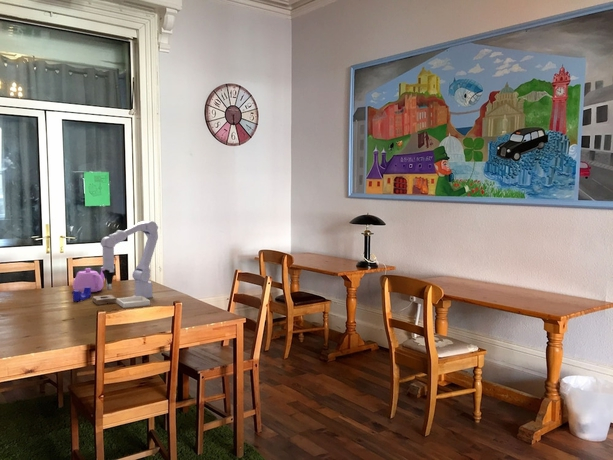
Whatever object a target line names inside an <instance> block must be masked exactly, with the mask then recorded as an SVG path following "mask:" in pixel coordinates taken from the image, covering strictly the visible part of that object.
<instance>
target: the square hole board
mask: <svg viewBox="0 0 613 460" xmlns="http://www.w3.org/2000/svg"><path fill="white" fill-rule="evenodd" d="M92 302H93V303H95V304H96V306H97V305H107V303H108V304H115V303H116V304H117V297H115V296H114V295H112V294H108V295H107V294H106V295H97V296H94V295H93V296H92Z"/></svg>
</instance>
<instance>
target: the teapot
mask: <svg viewBox="0 0 613 460" xmlns="http://www.w3.org/2000/svg"><path fill="white" fill-rule="evenodd" d="M103 270H105V269H100V273H99V272H98V271H96V270H92V268H90V267H88V268H87V267H86V268H84V270H79V271H78V272H76V276H75V278H74V279H73V282H72V289H73V291H80V294H81V293H82V292H84V287H91V293H97V292H100V291H101V290H102V289H103V288H104V286H105V285H104V281H105V277H104V274H103V272H102V271H103Z"/></svg>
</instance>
